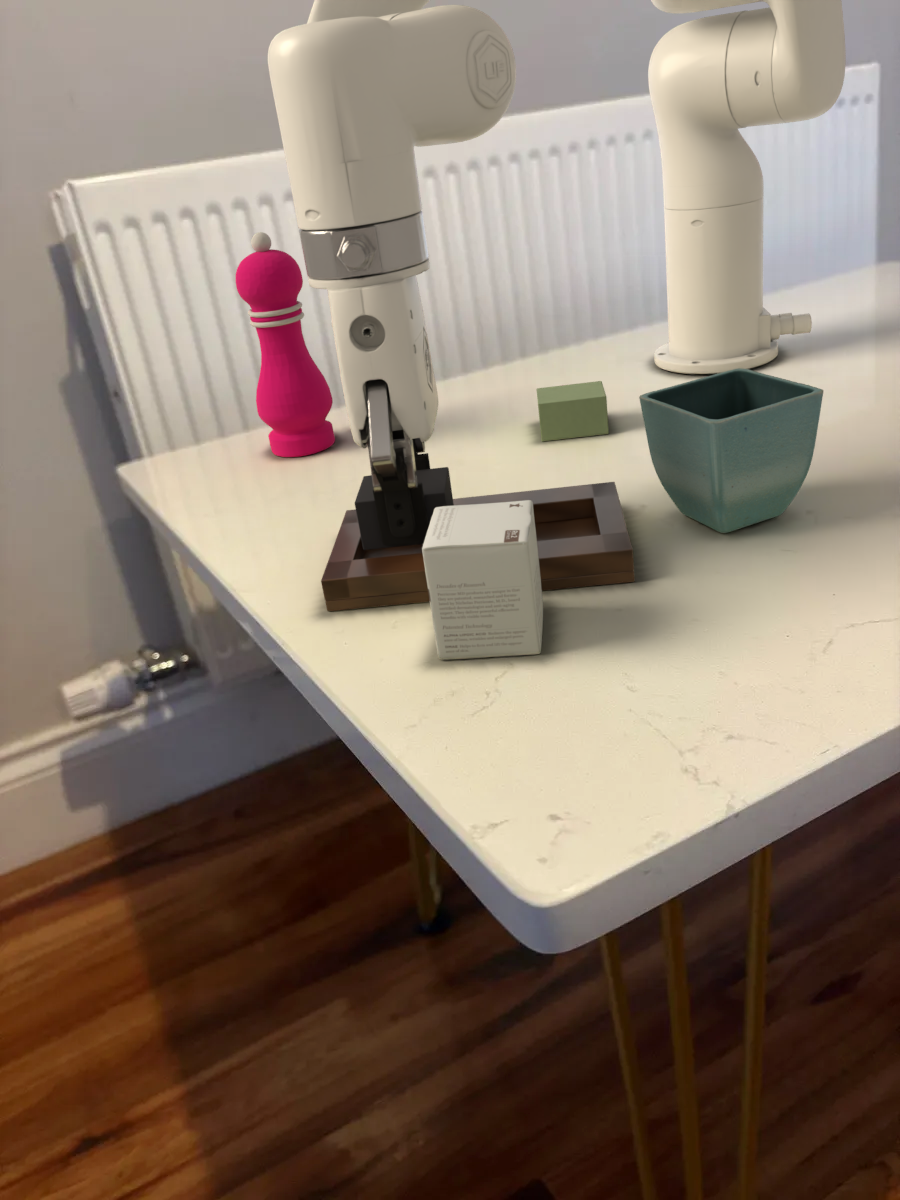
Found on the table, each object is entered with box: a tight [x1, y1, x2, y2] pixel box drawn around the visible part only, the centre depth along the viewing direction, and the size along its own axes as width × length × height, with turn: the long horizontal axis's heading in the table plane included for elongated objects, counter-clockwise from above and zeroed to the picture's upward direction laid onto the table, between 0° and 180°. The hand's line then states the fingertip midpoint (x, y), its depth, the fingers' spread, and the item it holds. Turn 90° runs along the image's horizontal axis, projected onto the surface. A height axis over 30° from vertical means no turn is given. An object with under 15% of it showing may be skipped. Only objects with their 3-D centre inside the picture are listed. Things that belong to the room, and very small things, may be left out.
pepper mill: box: [235, 231, 336, 458], centre depth 95 cm, size 7×7×20 cm
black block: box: [354, 466, 454, 550], centre depth 70 cm, size 6×5×4 cm
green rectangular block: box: [536, 380, 610, 442], centre depth 93 cm, size 6×5×4 cm
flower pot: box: [638, 368, 824, 534], centre depth 70 cm, size 9×9×9 cm
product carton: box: [422, 500, 544, 661], centre depth 60 cm, size 6×6×7 cm
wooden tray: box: [320, 481, 636, 612], centre depth 71 cm, size 20×12×2 cm, turn 87°
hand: (409, 523), depth 71 cm, fingers closed on black block, 4 cm apart
